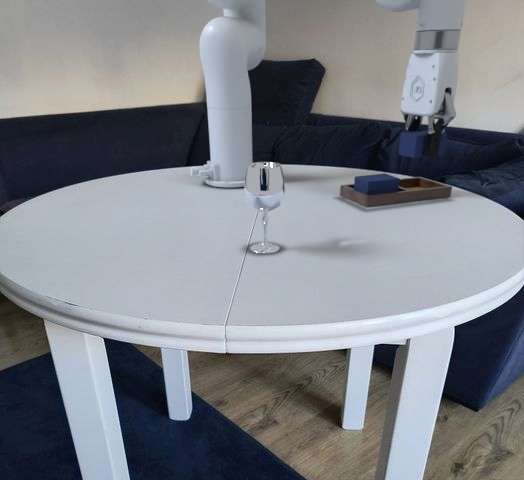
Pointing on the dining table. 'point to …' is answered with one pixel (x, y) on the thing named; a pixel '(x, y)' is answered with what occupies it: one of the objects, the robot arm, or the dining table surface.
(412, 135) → the blue rectangular block
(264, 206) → the wineglass
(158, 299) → the dining table surface
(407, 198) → the wooden compartment tray
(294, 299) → the dining table surface
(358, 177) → the blue block
